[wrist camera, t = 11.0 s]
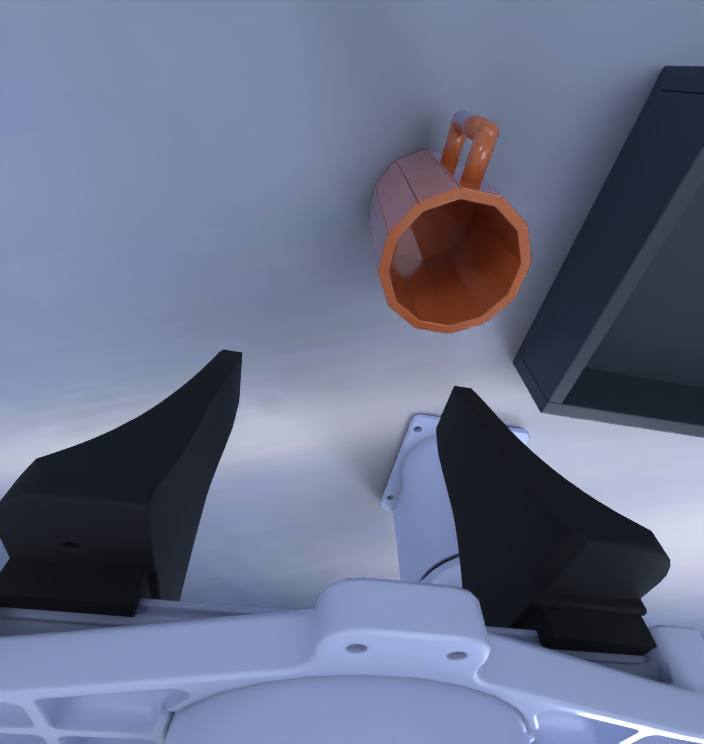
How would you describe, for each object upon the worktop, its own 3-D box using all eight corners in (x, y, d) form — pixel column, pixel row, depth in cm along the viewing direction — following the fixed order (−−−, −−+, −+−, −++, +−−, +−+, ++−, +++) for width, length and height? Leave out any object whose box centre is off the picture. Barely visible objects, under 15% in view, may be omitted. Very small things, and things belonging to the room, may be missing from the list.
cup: (456, 269, 22) (495, 342, 16) (360, 251, 21) (366, 319, 16) (510, 119, 18) (586, 146, 12) (395, 91, 17) (419, 105, 12)
